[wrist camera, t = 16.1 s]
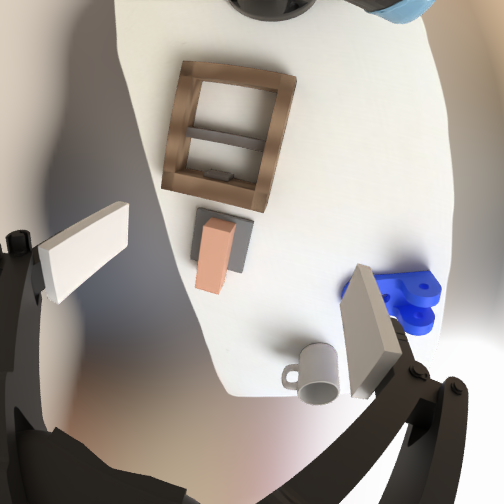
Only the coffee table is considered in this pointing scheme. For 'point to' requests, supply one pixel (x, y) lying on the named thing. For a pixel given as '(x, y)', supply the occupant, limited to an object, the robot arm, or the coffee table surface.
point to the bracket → (410, 299)
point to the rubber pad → (239, 239)
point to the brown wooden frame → (224, 135)
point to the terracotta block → (214, 254)
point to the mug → (315, 375)
